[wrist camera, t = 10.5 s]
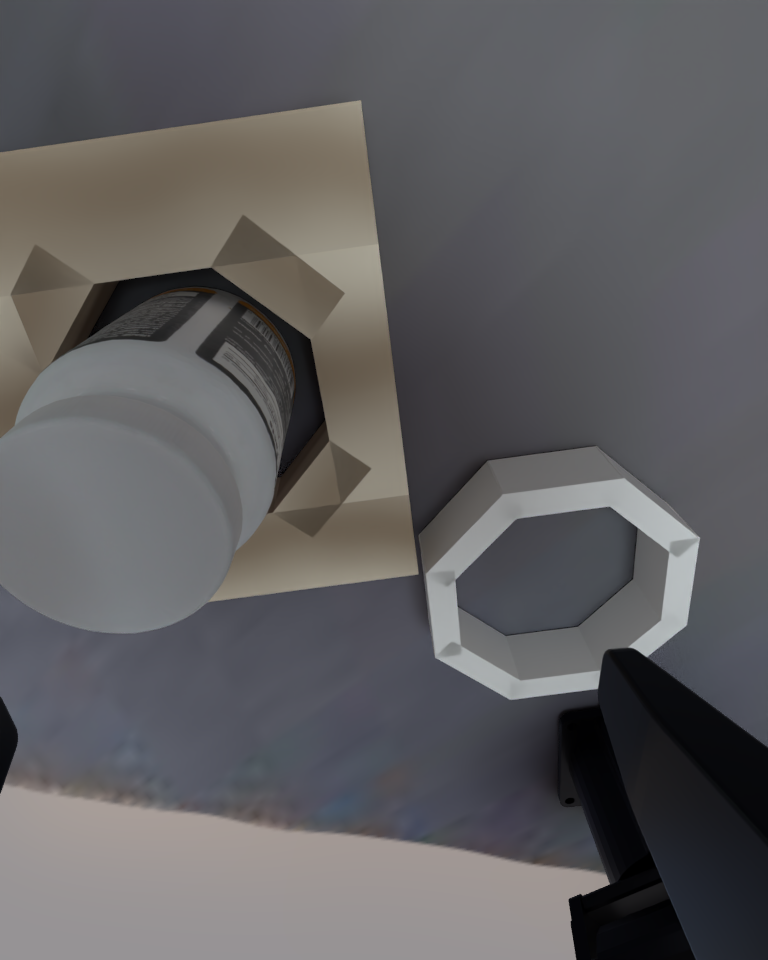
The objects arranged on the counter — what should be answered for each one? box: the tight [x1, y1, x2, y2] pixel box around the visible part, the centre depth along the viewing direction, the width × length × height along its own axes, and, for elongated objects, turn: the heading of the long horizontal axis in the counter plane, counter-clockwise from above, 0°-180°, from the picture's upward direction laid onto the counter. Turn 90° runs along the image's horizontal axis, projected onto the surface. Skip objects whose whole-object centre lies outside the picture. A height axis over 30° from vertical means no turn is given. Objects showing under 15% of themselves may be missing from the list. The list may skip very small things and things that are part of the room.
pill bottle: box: [0, 286, 296, 633], centre depth 15 cm, size 6×6×10 cm
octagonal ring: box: [418, 446, 700, 700], centre depth 23 cm, size 10×10×2 cm
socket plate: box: [0, 100, 418, 602], centre depth 19 cm, size 14×12×2 cm
